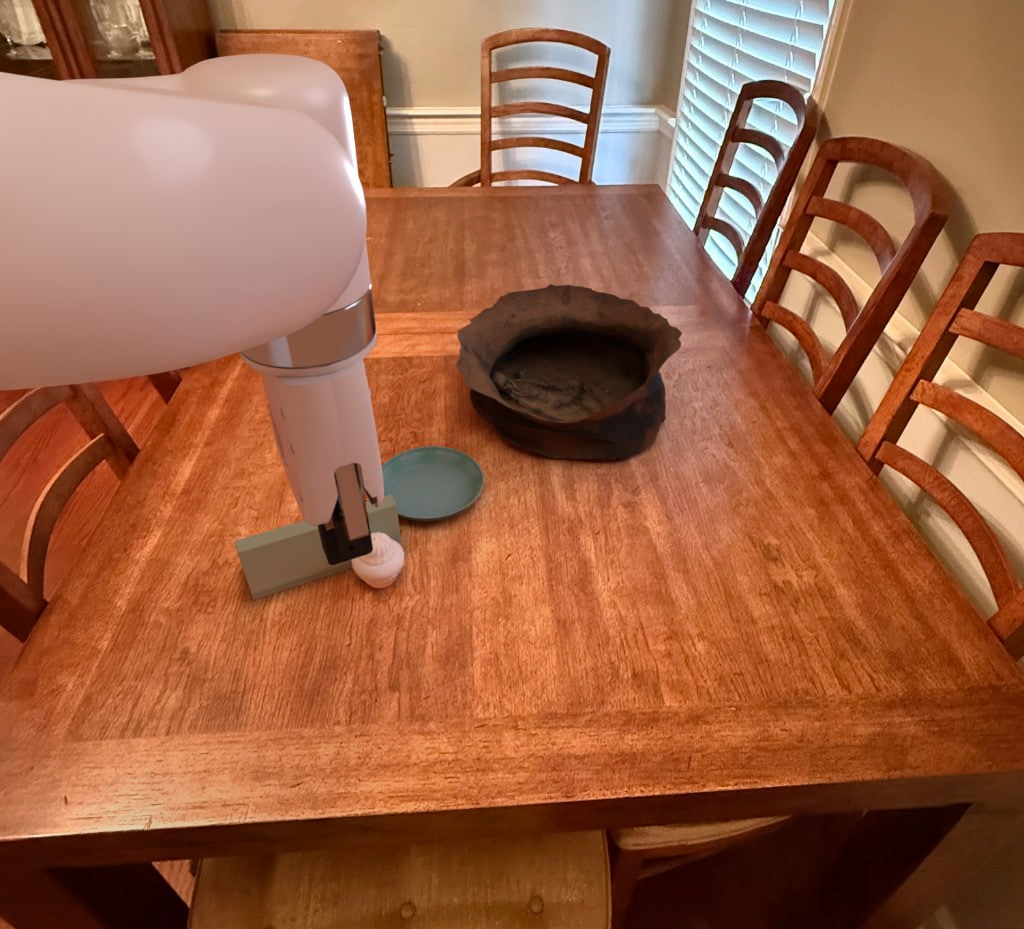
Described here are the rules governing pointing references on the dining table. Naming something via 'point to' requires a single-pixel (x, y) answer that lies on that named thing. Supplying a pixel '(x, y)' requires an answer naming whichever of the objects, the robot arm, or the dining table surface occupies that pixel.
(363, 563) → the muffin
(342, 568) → the wall
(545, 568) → the dining table surface
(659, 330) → the bowl
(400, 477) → the saucer
